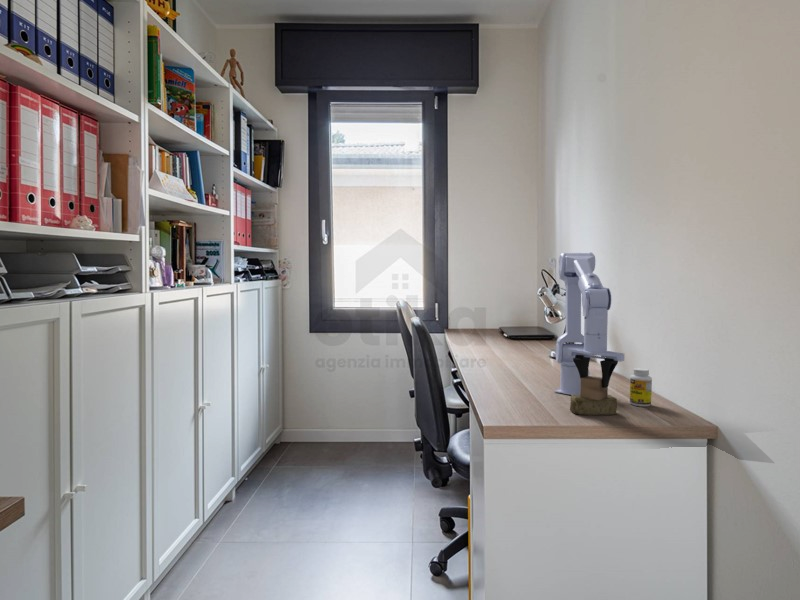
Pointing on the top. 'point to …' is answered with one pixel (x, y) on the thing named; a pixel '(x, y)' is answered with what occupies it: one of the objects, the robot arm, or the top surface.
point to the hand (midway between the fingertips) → (594, 385)
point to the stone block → (593, 405)
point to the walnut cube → (593, 388)
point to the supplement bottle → (640, 388)
